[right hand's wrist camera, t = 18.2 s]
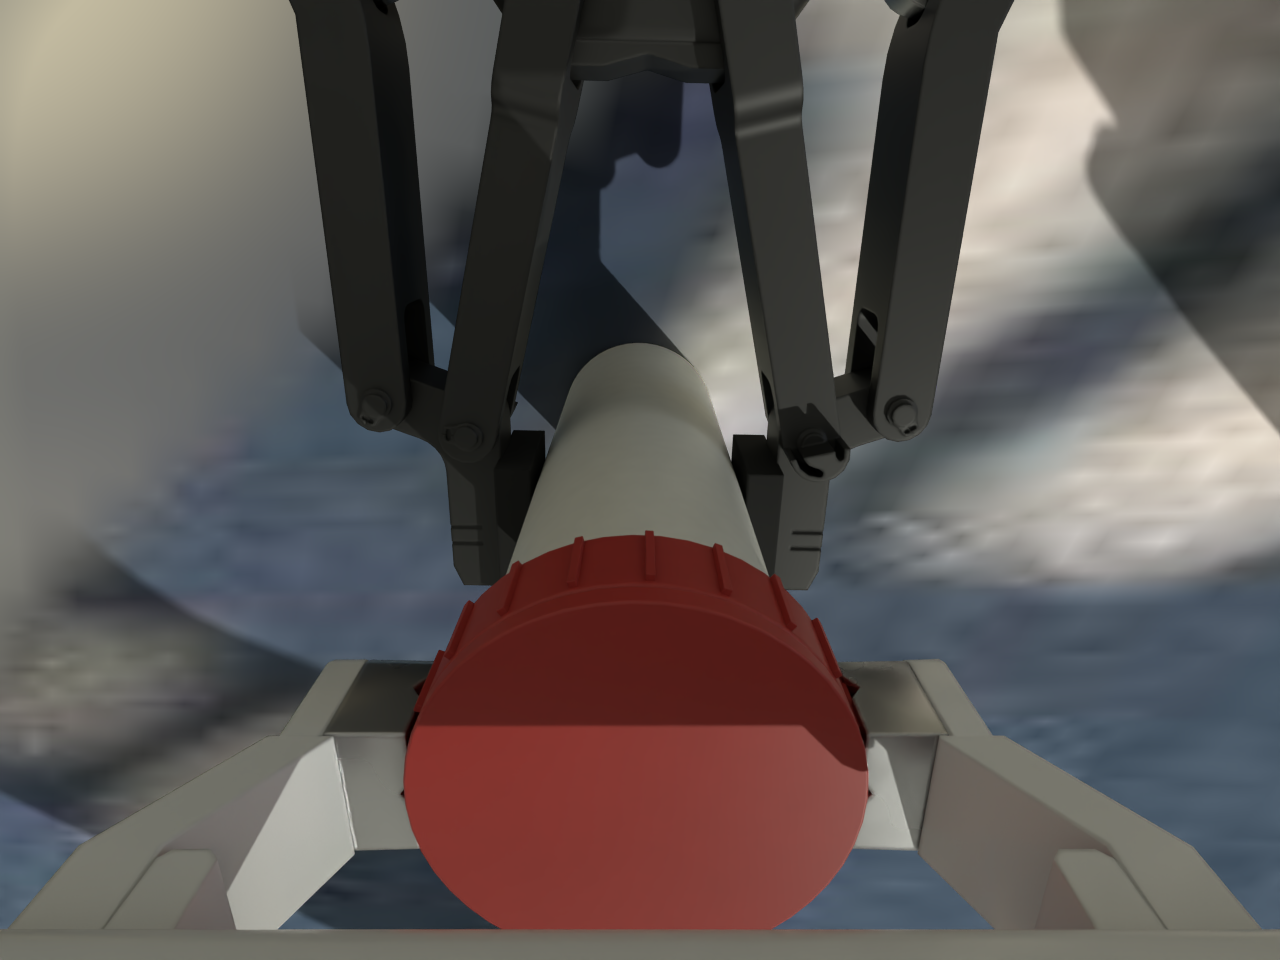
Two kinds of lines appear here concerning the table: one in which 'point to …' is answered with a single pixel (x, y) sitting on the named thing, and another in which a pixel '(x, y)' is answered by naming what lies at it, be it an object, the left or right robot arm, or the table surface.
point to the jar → (638, 461)
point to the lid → (636, 745)
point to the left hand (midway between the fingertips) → (634, 687)
